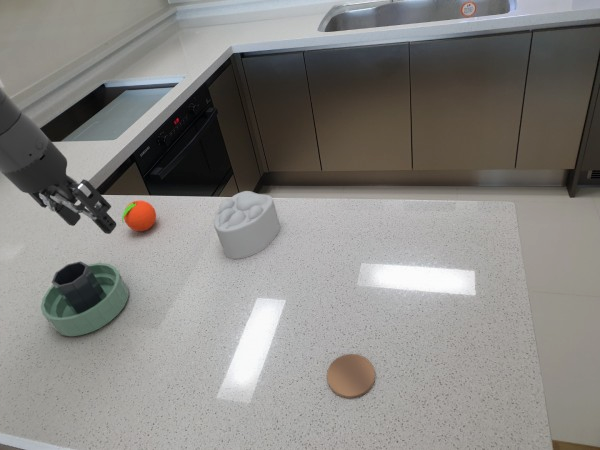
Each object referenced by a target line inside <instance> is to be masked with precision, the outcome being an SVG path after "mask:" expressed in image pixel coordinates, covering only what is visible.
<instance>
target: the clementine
mask: <svg viewBox="0 0 600 450" xmlns="http://www.w3.org/2000/svg"><path fill="white" fill-rule="evenodd" d="M156 220H157V213H156V209H155V207H154V206H153V205H152V204H151V203H149V202H147V201H145V200H133V201H132V202H130V203H129V204H128V205H126V207H125V209H124V211H123V214H122V218H121V221H122V222H125V225H127V227H128V228H129V229H131V230H133V231H136V232H144V231H148V230H149V229H151V228H152V227H153V226H154V224H155V223H156Z"/></svg>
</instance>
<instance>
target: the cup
mask: <svg viewBox="0 0 600 450" xmlns="http://www.w3.org/2000/svg"><path fill="white" fill-rule="evenodd" d="M88 265H89V264H87V263H84V262H83V261H81V260H79V261H76V262H72V263H68V264H66V265H64V266H63V267H62V268H60V269H59V270H57V271H56V272H55V273H54V275H53V278H52V280H51V283H52V284H51V285H54V286H55V288H56V289H57V291H58V292H59V293H60V295H61V296H62V298H63V299H64V300H65V302H66V303H67V305H68V306H69V307H70V309H71V310H72V312H73V313H75V314H76V315H77V314H80V313H83V312H85V311H87V310H88V309H90V308H92V307H94V306H95V305H97V304H98V303H99V302H100V301H102V300H103V299H104V298H105V297H106V296H107V295H106V293H105V292H104V290H103V289H102V287H101V285H100V284H99V282H98V281H97V279H96V278H95V276H94V274H93V273H92V271H91V270H90V268H89V266H88Z"/></svg>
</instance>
